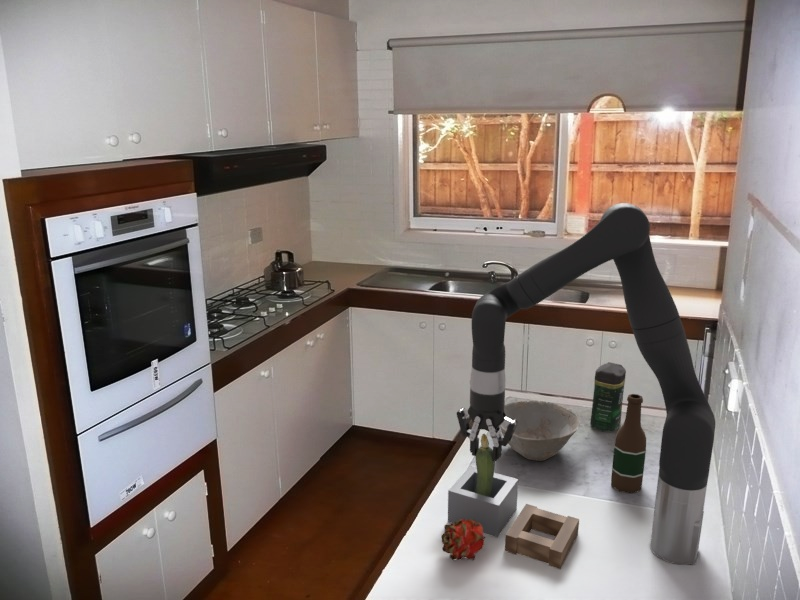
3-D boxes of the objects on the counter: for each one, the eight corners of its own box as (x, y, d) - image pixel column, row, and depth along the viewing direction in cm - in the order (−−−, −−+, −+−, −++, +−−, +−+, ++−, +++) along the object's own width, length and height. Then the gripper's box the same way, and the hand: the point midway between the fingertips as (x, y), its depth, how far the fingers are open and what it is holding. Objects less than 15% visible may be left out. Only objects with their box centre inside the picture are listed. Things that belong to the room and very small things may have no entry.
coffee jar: (614, 435, 192) (620, 374, 187) (586, 428, 196) (591, 368, 191) (623, 422, 200) (629, 363, 194) (597, 415, 204) (602, 358, 198)
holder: (516, 509, 157) (518, 479, 155) (497, 537, 147) (498, 505, 145) (469, 495, 163) (470, 465, 161) (447, 521, 153) (448, 490, 151)
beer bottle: (648, 484, 167) (658, 395, 160) (634, 497, 162) (644, 406, 155) (618, 473, 172) (627, 386, 166) (604, 485, 167) (612, 396, 160)
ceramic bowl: (487, 467, 176) (488, 432, 173) (500, 427, 197) (501, 396, 194) (575, 480, 169) (577, 444, 167) (579, 437, 191) (581, 405, 188)
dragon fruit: (441, 574, 138) (473, 552, 148) (472, 566, 133) (503, 544, 143) (425, 533, 140) (458, 515, 150) (455, 524, 135) (487, 505, 144)
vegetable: (481, 502, 158) (483, 425, 152) (497, 509, 155) (500, 430, 149) (470, 511, 154) (472, 432, 149) (486, 518, 152) (489, 438, 146)
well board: (577, 534, 148) (579, 519, 147) (560, 569, 137) (561, 552, 136) (525, 518, 154) (526, 503, 153) (504, 550, 143) (505, 534, 142)
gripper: (525, 386, 146) (521, 457, 151) (464, 374, 152) (463, 442, 157) (512, 399, 139) (509, 472, 144) (450, 385, 146) (449, 456, 151)
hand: (485, 456), depth 151 cm, fingers closed on vegetable, 4 cm apart
